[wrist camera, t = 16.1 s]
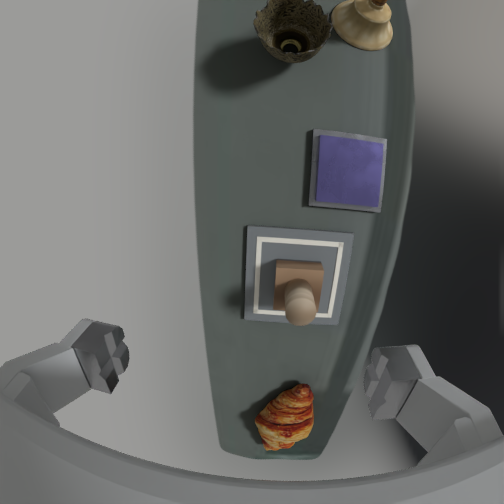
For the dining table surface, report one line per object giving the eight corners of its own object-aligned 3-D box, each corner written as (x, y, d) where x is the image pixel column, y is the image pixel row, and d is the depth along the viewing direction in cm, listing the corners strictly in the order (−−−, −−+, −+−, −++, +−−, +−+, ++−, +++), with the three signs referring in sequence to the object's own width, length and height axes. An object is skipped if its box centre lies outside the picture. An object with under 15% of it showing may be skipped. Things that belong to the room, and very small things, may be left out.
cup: (296, 87, 29) (301, 67, 21) (246, 53, 28) (237, 27, 20) (333, 48, 26) (346, 21, 19) (284, 16, 25) (285, -16, 18)
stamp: (276, 258, 35) (275, 286, 27) (320, 261, 35) (331, 289, 27) (273, 298, 37) (271, 333, 29) (315, 300, 36) (323, 335, 29)
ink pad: (312, 129, 30) (314, 128, 29) (384, 139, 30) (389, 139, 28) (308, 204, 33) (309, 206, 32) (378, 211, 32) (382, 213, 31)
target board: (248, 224, 35) (247, 226, 34) (352, 232, 34) (354, 234, 33) (244, 317, 39) (244, 319, 38) (337, 322, 38) (338, 325, 37)
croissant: (282, 431, 52) (299, 458, 45) (239, 441, 48) (254, 472, 41) (317, 365, 44) (343, 397, 38) (265, 375, 40) (289, 414, 33)
